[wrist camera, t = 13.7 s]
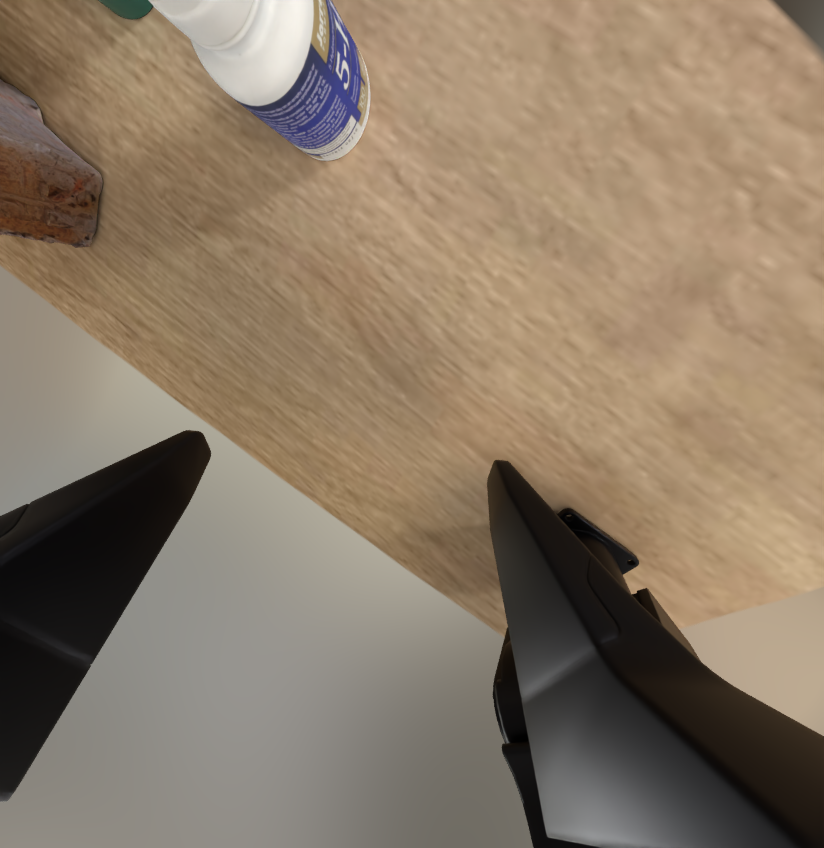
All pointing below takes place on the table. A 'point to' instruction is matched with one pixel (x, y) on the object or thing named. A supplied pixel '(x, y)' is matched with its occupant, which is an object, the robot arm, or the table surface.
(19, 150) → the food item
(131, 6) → the green bottle
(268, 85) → the pill bottle
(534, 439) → the table surface
